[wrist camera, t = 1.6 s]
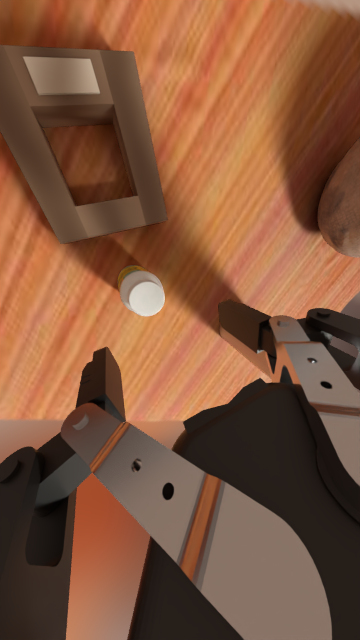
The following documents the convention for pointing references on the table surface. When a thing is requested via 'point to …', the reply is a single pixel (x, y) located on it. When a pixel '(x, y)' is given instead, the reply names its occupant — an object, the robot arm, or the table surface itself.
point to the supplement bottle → (140, 290)
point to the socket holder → (77, 110)
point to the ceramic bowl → (342, 205)
